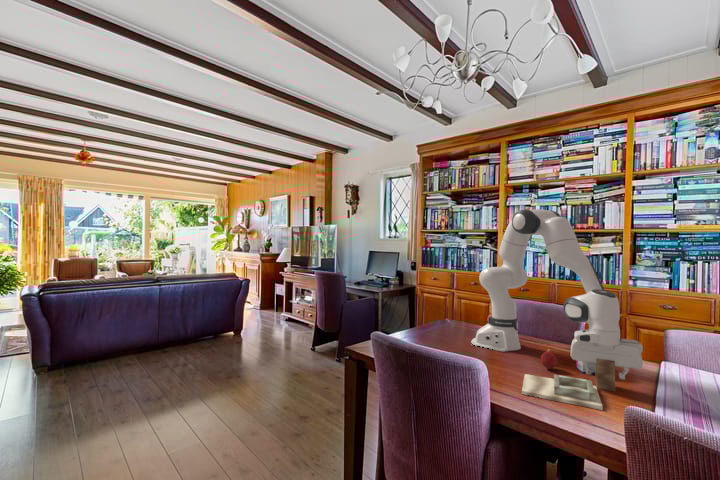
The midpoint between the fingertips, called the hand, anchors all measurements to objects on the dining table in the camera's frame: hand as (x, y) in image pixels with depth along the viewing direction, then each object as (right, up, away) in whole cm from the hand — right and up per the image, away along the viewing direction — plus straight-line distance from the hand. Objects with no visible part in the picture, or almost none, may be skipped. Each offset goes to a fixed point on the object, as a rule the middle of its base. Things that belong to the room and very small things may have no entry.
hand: (604, 376), depth 115 cm
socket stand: (-18, -4, -3) cm, 19 cm away
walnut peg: (0, -4, 0) cm, 4 cm away
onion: (-10, -4, +16) cm, 20 cm away
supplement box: (+4, -4, +14) cm, 15 cm away
